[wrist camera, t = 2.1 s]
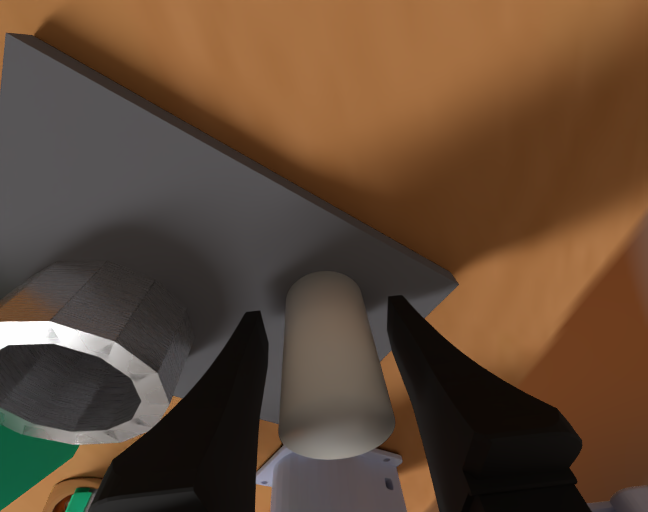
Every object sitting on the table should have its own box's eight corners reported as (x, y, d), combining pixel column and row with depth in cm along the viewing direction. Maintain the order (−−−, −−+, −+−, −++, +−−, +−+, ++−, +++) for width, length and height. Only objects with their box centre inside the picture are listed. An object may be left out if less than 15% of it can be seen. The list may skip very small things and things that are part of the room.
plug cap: (377, 290, 14) (419, 414, 9) (335, 338, 16) (351, 467, 11) (310, 258, 13) (317, 380, 8) (272, 313, 15) (257, 445, 10)
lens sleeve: (215, 301, 14) (192, 365, 11) (165, 389, 17) (137, 457, 14) (33, 231, 12) (-57, 288, 9) (12, 347, 15) (-59, 418, 12)
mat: (450, 272, 15) (459, 284, 15) (307, 417, 21) (307, 432, 20) (32, 35, 9) (5, 32, 9) (-6, 327, 15) (-24, 343, 14)
